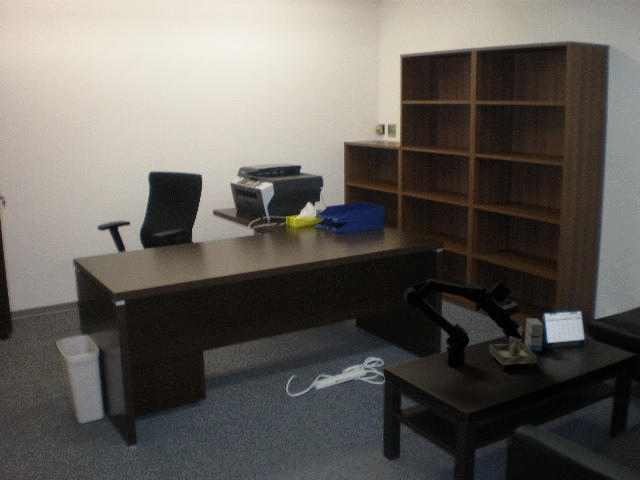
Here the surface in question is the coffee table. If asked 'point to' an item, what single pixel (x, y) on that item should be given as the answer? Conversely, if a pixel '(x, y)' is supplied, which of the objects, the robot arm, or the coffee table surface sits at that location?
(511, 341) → the metal canister
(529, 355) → the shallow grey tray
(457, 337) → the robot arm
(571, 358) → the coffee table surface
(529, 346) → the ink box
